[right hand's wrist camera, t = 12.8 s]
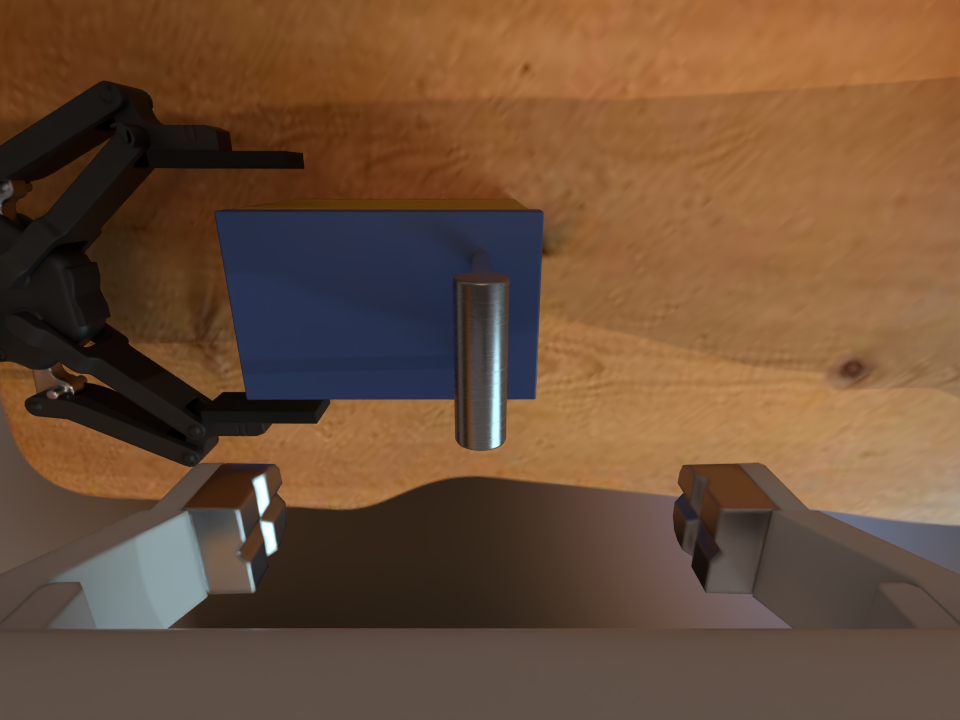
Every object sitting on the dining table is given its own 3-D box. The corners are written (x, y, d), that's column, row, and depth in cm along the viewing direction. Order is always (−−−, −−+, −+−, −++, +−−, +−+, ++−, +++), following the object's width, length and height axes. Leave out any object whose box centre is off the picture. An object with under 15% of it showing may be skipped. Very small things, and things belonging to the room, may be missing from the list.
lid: (540, 209, 23) (575, 228, 15) (533, 390, 26) (559, 490, 18) (226, 209, 23) (84, 228, 15) (256, 390, 26) (152, 491, 18)
